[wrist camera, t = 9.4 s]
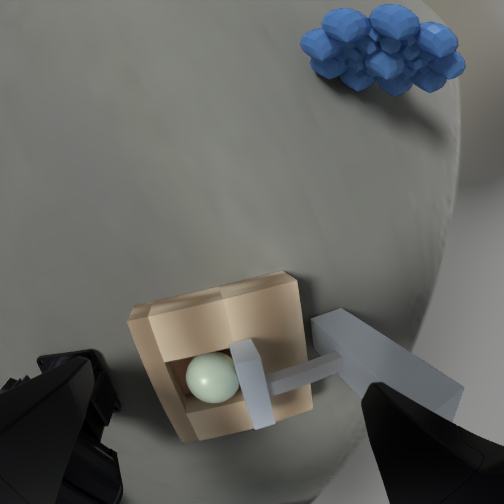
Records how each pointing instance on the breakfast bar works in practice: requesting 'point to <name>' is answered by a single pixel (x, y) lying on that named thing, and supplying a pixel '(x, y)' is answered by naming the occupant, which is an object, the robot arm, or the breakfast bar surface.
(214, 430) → the board
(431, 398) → the pull handle
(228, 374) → the ball
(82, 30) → the breakfast bar surface
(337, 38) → the grapes
